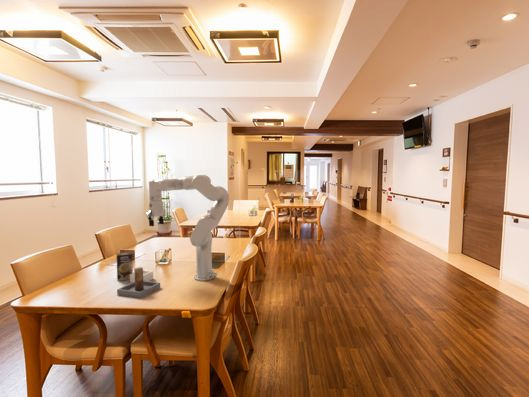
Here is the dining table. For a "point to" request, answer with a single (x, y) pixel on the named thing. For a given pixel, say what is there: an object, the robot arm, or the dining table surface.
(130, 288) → the tray
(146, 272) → the white square block
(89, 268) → the dining table surface
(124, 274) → the coffee box
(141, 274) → the dowel
